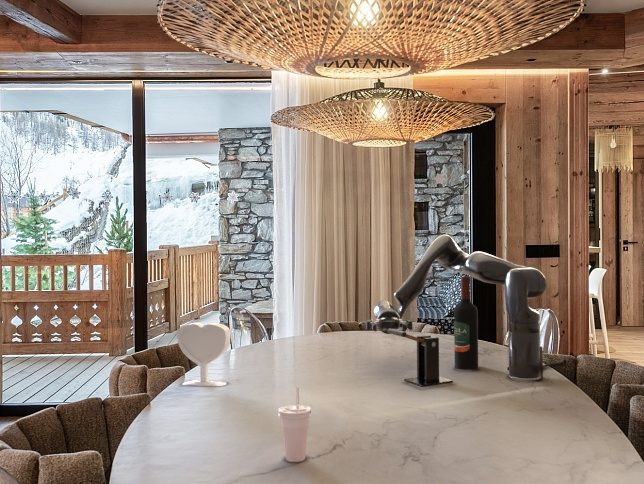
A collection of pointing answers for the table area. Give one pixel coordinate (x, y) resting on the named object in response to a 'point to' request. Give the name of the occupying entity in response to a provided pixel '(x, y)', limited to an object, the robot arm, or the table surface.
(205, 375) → the heart sculpture
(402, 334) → the lever
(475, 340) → the wine bottle
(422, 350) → the bracket
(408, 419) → the table surface
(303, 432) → the smoothie
